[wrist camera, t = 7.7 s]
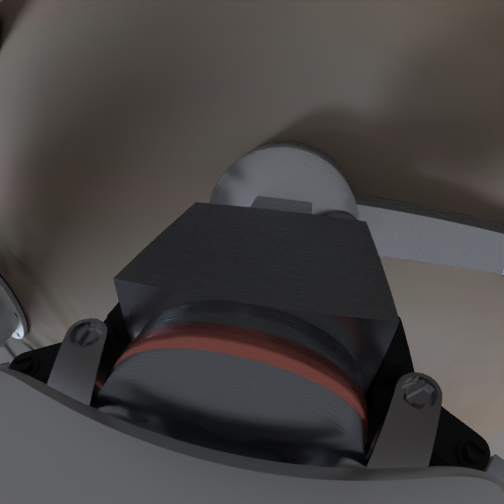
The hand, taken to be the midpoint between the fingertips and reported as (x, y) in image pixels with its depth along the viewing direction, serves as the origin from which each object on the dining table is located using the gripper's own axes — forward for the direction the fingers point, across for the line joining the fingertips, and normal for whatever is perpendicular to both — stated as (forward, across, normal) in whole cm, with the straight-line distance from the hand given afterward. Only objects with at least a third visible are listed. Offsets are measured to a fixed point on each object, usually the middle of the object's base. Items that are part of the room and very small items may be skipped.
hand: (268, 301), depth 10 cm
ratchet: (+9, -11, 0) cm, 14 cm away
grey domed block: (+1, 0, 0) cm, 1 cm away
